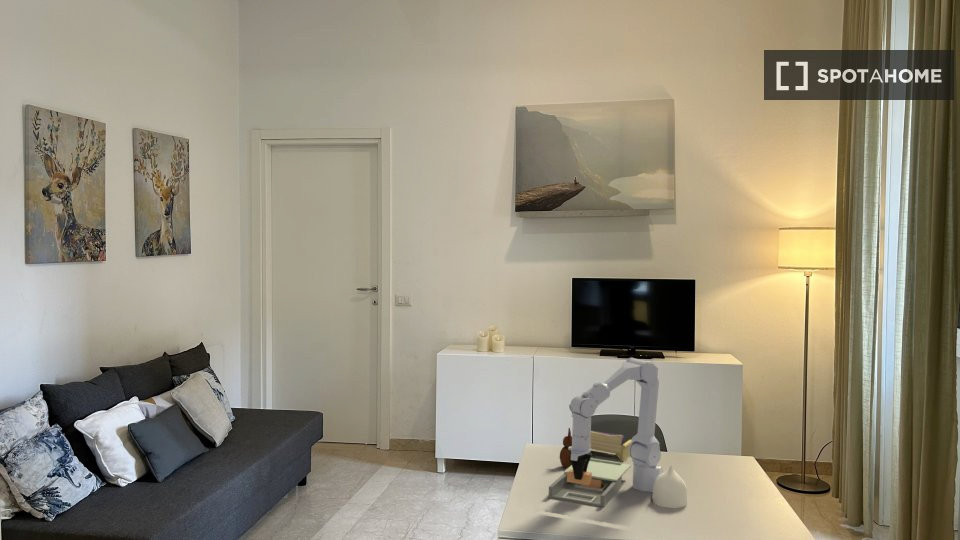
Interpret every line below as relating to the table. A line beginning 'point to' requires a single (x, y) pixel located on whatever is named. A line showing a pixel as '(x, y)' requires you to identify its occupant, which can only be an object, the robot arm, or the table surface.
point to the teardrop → (670, 490)
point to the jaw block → (585, 479)
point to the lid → (605, 469)
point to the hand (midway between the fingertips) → (580, 477)
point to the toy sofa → (610, 444)
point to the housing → (584, 491)
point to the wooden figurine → (566, 451)
